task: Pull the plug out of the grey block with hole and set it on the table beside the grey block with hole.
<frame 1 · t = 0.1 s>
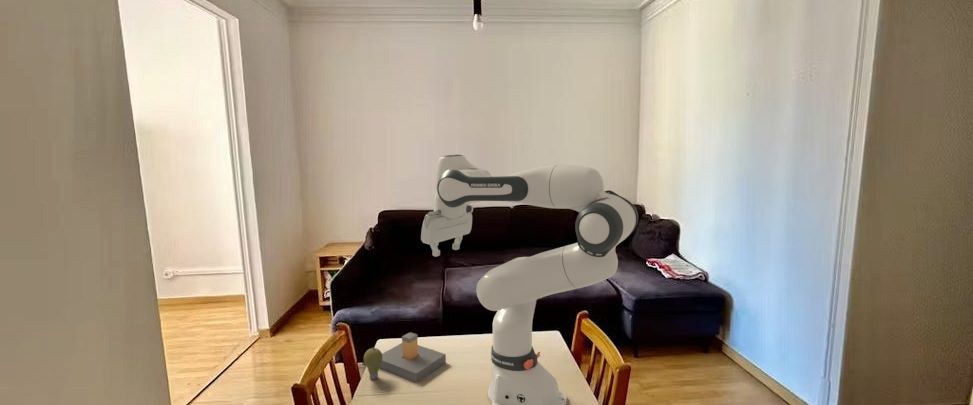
hand: (446, 252, 129), 39 cm above the table, tool pointing down, fingers open, 8 cm apart
grey block with hole: (410, 366, 138), on the table
light bulb: (374, 380, 131), on the table
plug: (410, 364, 138), resting on grey block with hole
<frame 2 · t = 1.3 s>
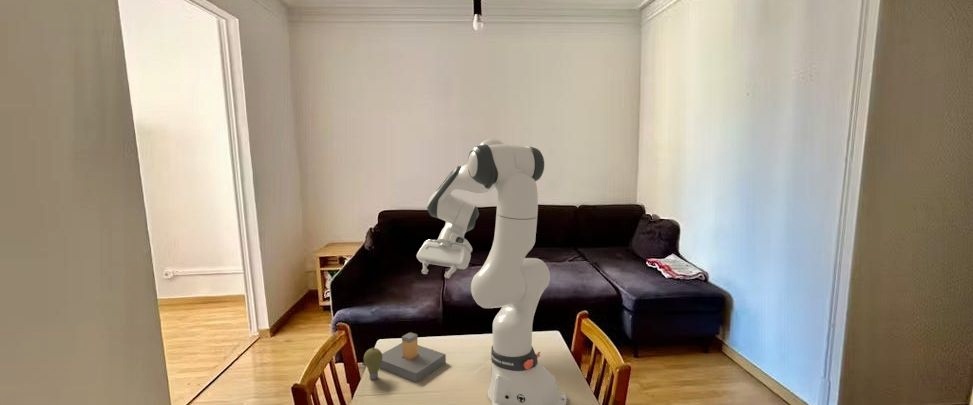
hand: (435, 275, 148), 26 cm above the table, tool tilted 45°, fingers open, 8 cm apart
nothing on the table moved.
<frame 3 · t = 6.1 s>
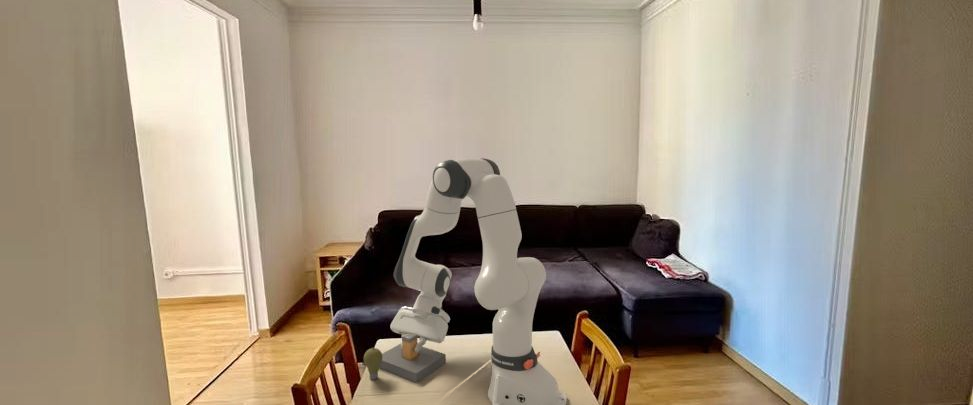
hand: (409, 349, 137), 6 cm above the table, tool tilted 45°, fingers closed on plug, 3 cm apart
plug: (410, 364, 138), resting on grey block with hole, touching gripper
everything else where it was.
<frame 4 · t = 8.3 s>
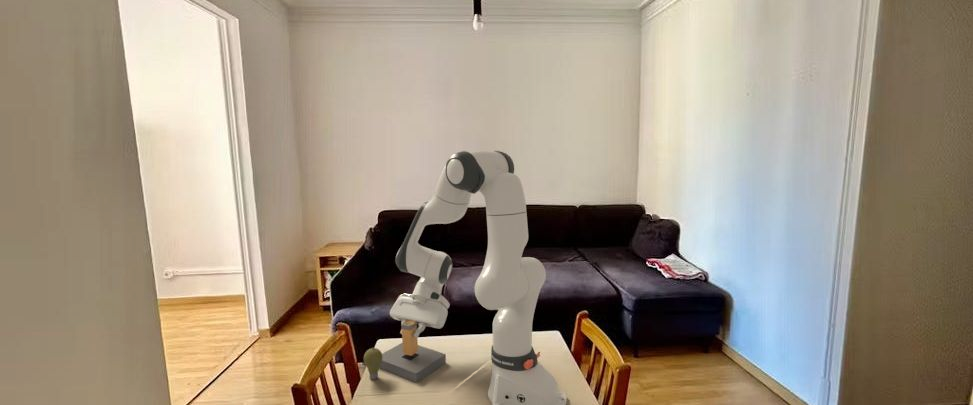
hand: (408, 335, 136), 11 cm above the table, tool tilted 45°, fingers closed on plug, 3 cm apart
plug: (410, 352, 137), point 5 cm above the table, touching gripper
everything else where it was.
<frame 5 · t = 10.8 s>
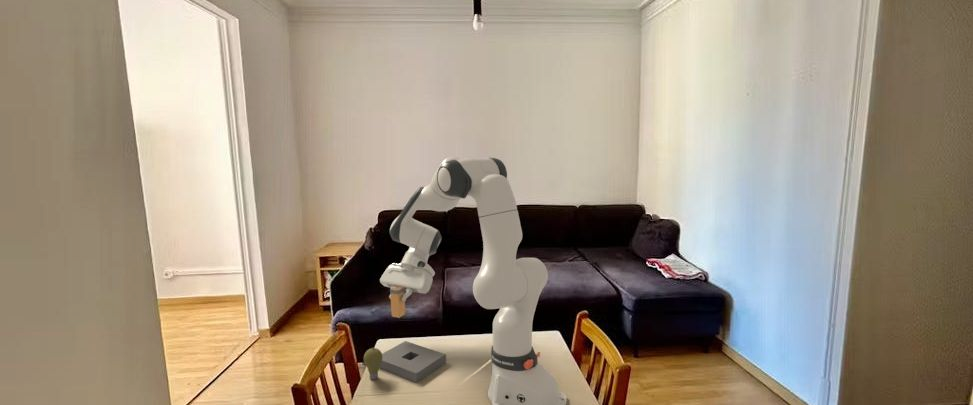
hand: (396, 299, 149), 18 cm above the table, tool tilted 45°, fingers closed on plug, 3 cm apart
plug: (398, 315, 151), point 12 cm above the table, touching gripper
everything else where it was.
when the fingers open (7 cm above the table, at t = 13.3 s): plug stays where it is, on the table.
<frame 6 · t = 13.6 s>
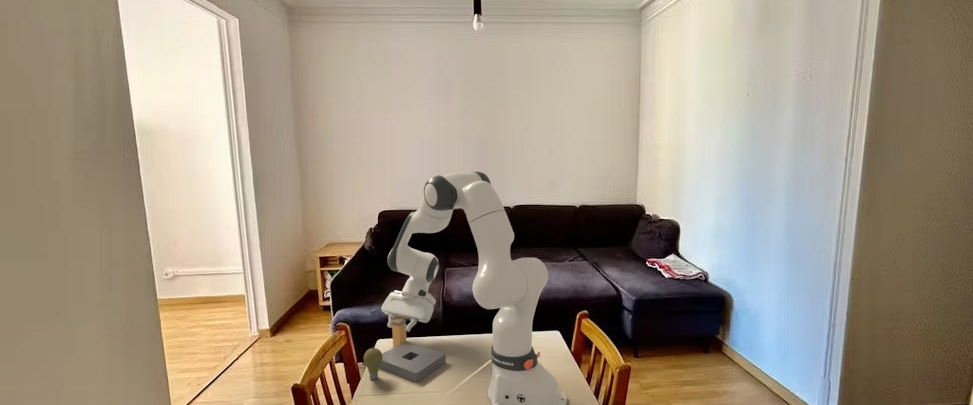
hand: (397, 328, 151), 7 cm above the table, tool tilted 45°, fingers open, 6 cm apart
plug: (399, 346, 152), on the table
everything else where it was.
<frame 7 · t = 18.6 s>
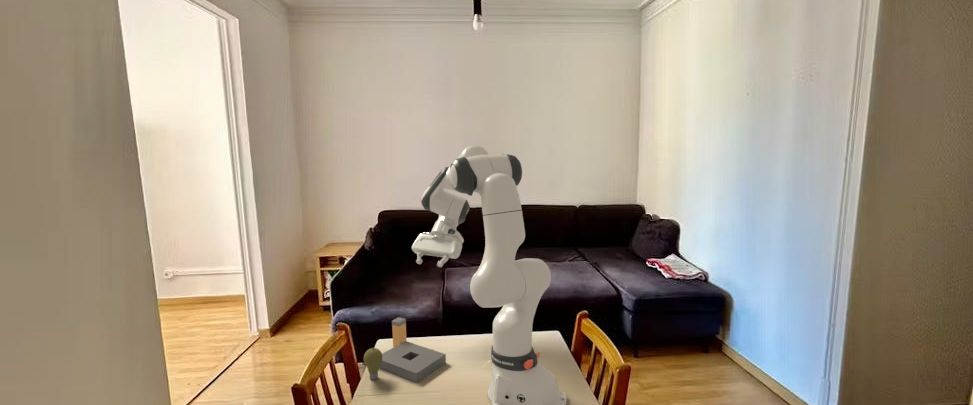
hand: (428, 264, 158), 27 cm above the table, tool tilted 45°, fingers open, 8 cm apart
nothing on the table moved.
at the end: plug inside the target area (0.1 cm from its centre), on the table; plug tilted 0°; the gripper is holding nothing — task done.
